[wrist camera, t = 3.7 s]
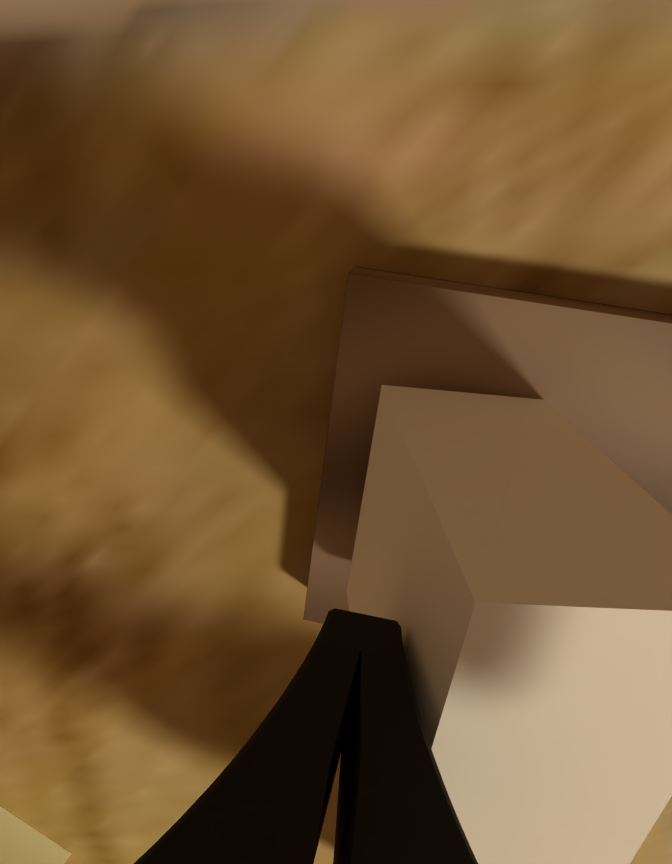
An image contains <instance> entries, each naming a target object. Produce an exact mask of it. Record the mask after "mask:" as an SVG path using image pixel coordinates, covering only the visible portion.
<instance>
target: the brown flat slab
mask: <svg viewBox="0 0 672 864" xmlns="http://www.w3.org/2000/svg"><path fill="white" fill-rule="evenodd" d="M382 385H389V386H400V387H411V388H422V389H433V390H444V391H455V392H466V393H477V394H488V395H499V396H510V397H521V398H532V399H543V400H545V401H546V402H547V403H548V404H549V405H550V406H551V407H552V408H553V409H555V410H556V411H557V412H558V413H559V414H560V415H561V416H562V417H563V418H565V419H566V420H567V421H568V422H569V423H570V424H571V425H572V426H573V427H575V428H576V429H577V430H578V431H579V432H580V433H581V434H582V435H584V436H585V437H586V438H587V439H588V440H589V441H590V442H591V443H592V444H594V445H595V446H596V447H597V448H598V449H599V450H600V451H601V452H602V453H604V454H605V455H606V456H607V457H608V458H609V459H610V460H611V461H612V462H614V463H615V464H616V465H617V466H618V467H619V468H620V469H621V470H622V471H624V472H625V473H626V474H627V475H628V476H629V477H630V478H631V479H632V480H634V481H635V482H636V483H637V484H638V485H639V486H640V487H641V488H643V489H644V490H645V491H646V492H647V493H648V494H649V495H650V496H651V497H653V498H654V499H655V500H656V501H657V502H658V503H659V504H660V505H661V506H663V507H664V508H665V509H666V510H667V511H668V512H669V513H670V514H671V515H672V315H670V314H663V313H657V312H650V311H643V310H637V309H630V308H624V307H617V306H610V305H604V304H597V303H590V302H584V301H577V300H571V299H564V298H557V297H551V296H544V295H538V294H531V293H524V292H518V291H511V290H505V289H498V288H491V287H485V286H478V285H471V284H465V283H458V282H452V281H445V280H438V279H432V278H425V277H419V276H412V275H405V274H399V273H392V272H386V271H379V270H372V269H366V268H359V267H355V268H354V269H353V270H352V271H351V272H350V273H349V274H348V280H347V287H346V295H345V303H344V311H343V318H342V326H341V334H340V341H339V349H338V357H337V364H336V372H335V380H334V387H333V395H332V403H331V410H330V418H329V426H328V433H327V441H326V449H325V457H324V464H323V472H322V480H321V487H320V495H319V503H318V510H317V518H316V526H315V533H314V541H313V549H312V556H311V564H310V572H309V579H308V587H307V595H306V603H305V610H304V618H303V619H304V620H309V621H314V622H319V623H323V624H324V622H325V619H326V616H327V614H328V611H330V610H332V609H334V608H337V609H341V610H346V611H349V606H348V599H347V586H348V580H349V575H350V569H351V563H352V557H353V551H354V545H355V539H356V533H357V527H358V522H359V516H360V510H361V504H362V498H363V492H364V486H365V480H366V474H367V469H368V463H369V457H370V451H371V445H372V439H373V433H374V427H375V421H376V416H377V410H378V404H379V398H380V392H381V386H382Z"/></svg>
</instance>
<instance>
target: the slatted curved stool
mask: <svg viewBox="0 0 672 864" xmlns="http://www.w3.org/2000/svg"><path fill="white" fill-rule="evenodd" d="M70 855H71V853H70V852H68V851H67V850H65V849H64V848H62V847H61V846H59V845H58V844H56V843H55V842H53V841H52V840H50V839H49V838H47V837H46V836H44V835H43V834H41V833H40V832H38V831H37V830H35V829H34V828H32V827H31V826H29V825H28V824H26V823H25V822H23V821H22V820H20V819H19V818H17V817H16V816H14V815H13V814H11V813H10V812H8V811H7V810H5V809H4V808H2V807H1V806H0V864H64V863H65V862H66V861H67V859H68V858H69V856H70Z"/></svg>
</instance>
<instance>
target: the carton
mask: <svg viewBox="0 0 672 864" xmlns="http://www.w3.org/2000/svg"><path fill="white" fill-rule="evenodd" d="M347 599H348V606H349V611H351V612H356V613H361V614H366V615H371V616H375V617H380V618H385V619H390V620H395V621H397V622H398V623H399V625H400V626H401V632H402V640H403V646H404V652H405V657H406V662H407V667H408V671H409V675H410V679H411V683H412V687H413V691H414V694H415V698H416V702H417V705H418V708H419V711H420V715H421V718H422V721H423V724H424V728H425V731H426V734H427V737H428V740H429V743H430V746H431V749H432V752H433V755H434V758H435V760H436V763H437V766H438V769H439V771H440V774H441V777H442V779H443V782H444V785H445V787H446V790H447V792H448V795H449V797H450V800H451V803H452V805H453V807H454V810H455V812H456V815H457V817H458V819H459V822H460V824H461V826H462V829H463V831H464V833H465V836H466V838H467V840H468V842H469V845H470V847H471V849H472V851H473V854H474V856H475V858H476V860H477V862H478V864H630V862H631V861H632V859H633V858H634V856H635V854H636V853H637V851H638V849H639V848H640V846H641V845H642V843H643V841H644V840H645V838H646V837H647V835H648V833H649V832H650V830H651V829H652V827H653V825H654V824H655V822H656V821H657V819H658V817H659V816H660V814H661V813H662V811H663V809H664V808H665V806H666V804H667V803H668V801H669V800H670V798H671V796H672V515H671V514H670V513H669V512H668V511H667V510H666V509H665V508H664V507H663V506H661V505H660V504H659V503H658V502H657V501H656V500H655V499H654V498H653V497H651V496H650V495H649V494H648V493H647V492H646V491H645V490H644V489H643V488H641V487H640V486H639V485H638V484H637V483H636V482H635V481H634V480H632V479H631V478H630V477H629V476H628V475H627V474H626V473H625V472H624V471H622V470H621V469H620V468H619V467H618V466H617V465H616V464H615V463H614V462H612V461H611V460H610V459H609V458H608V457H607V456H606V455H605V454H604V453H602V452H601V451H600V450H599V449H598V448H597V447H596V446H595V445H594V444H592V443H591V442H590V441H589V440H588V439H587V438H586V437H585V436H584V435H582V434H581V433H580V432H579V431H578V430H577V429H576V428H575V427H573V426H572V425H571V424H570V423H569V422H568V421H567V420H566V419H565V418H563V417H562V416H561V415H560V414H559V413H558V412H557V411H556V410H555V409H553V408H552V407H551V406H550V405H549V404H548V403H547V402H546V401H545V400H543V399H532V398H521V397H510V396H499V395H488V394H477V393H466V392H455V391H444V390H433V389H422V388H411V387H400V386H389V385H382V386H381V392H380V398H379V404H378V410H377V416H376V421H375V427H374V433H373V439H372V445H371V451H370V457H369V463H368V469H367V474H366V480H365V486H364V492H363V498H362V504H361V510H360V516H359V522H358V527H357V533H356V539H355V545H354V551H353V557H352V563H351V569H350V575H349V580H348V586H347Z"/></svg>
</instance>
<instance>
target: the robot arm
mask: <svg viewBox="0 0 672 864" xmlns="http://www.w3.org/2000/svg"><path fill="white" fill-rule="evenodd" d="M340 753H341V762H340V776H339V790H338V805H337V819H336V833H335V847H334V862H333V864H478V862H477V860H476V858H475V856H474V854H473V851H472V849H471V847H470V845H469V842H468V840H467V838H466V836H465V833H464V831H463V829H462V826H461V824H460V822H459V819H458V817H457V815H456V812H455V810H454V807H453V805H452V803H451V800H450V797H449V795H448V792H447V790H446V787H445V785H444V782H443V779H442V777H441V774H440V771H439V769H438V766H437V763H436V760H435V758H434V755H433V752H432V749H431V746H430V743H429V740H428V737H427V734H426V731H425V728H424V724H423V721H422V718H421V715H420V711H419V708H418V705H417V702H416V698H415V694H414V691H413V687H412V683H411V679H410V675H409V671H408V667H407V662H406V657H405V652H404V646H403V640H402V632H401V626H400V625H399V623H398V622H397V621H395V620H390V619H385V618H380V617H375V616H371V615H366V614H361V613H356V612H351V611H346V610H341V609H337V608H334V609H332V610H330V611H328V614H327V616H326V619H325V622H324V624H323V626H322V629H321V631H320V633H319V635H318V637H317V639H316V641H315V643H314V645H313V646H312V648H311V650H310V652H309V653H308V655H307V657H306V659H305V660H304V662H303V664H302V665H301V667H300V668H299V670H298V671H297V673H296V674H295V676H294V678H293V679H292V681H291V682H290V684H289V685H288V687H287V688H286V690H285V692H284V693H283V694H282V696H281V697H280V699H279V700H278V702H277V703H276V704H275V706H274V707H273V708H272V710H271V711H270V712H269V714H268V715H267V717H266V718H265V719H264V721H263V722H262V723H261V725H260V726H259V727H258V729H257V730H256V731H255V733H254V734H253V735H252V737H251V738H250V739H249V740H248V742H247V743H246V744H245V745H244V747H243V748H242V749H241V750H240V752H239V753H238V754H237V755H236V756H235V758H234V759H233V760H232V761H231V762H230V764H229V765H228V766H227V767H226V768H225V769H224V771H223V772H222V773H221V774H220V775H219V776H218V778H217V779H216V780H215V781H214V782H213V783H212V784H211V785H210V787H209V788H208V789H207V790H206V791H205V792H204V793H203V794H202V795H201V796H200V797H199V798H198V800H197V801H196V802H195V803H194V804H193V805H192V806H191V807H190V808H189V809H188V810H187V811H186V812H185V814H184V815H183V816H182V817H181V818H180V819H179V820H178V821H177V822H176V823H175V824H174V825H173V826H172V827H171V828H170V829H169V830H168V831H167V832H166V833H165V834H164V835H163V836H162V837H161V838H160V839H159V840H158V841H157V842H156V843H155V844H154V845H153V846H152V847H151V848H150V849H149V850H148V851H147V852H146V853H145V854H144V855H142V856H141V857H140V858H139V859H138V860H137V861H136V862H135V863H134V864H313V863H314V859H315V855H316V851H317V847H318V843H319V838H320V834H321V830H322V826H323V822H324V818H325V814H326V810H327V806H328V802H329V798H330V794H331V790H332V786H333V782H334V778H335V774H336V770H337V765H338V761H339V757H340Z"/></svg>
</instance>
